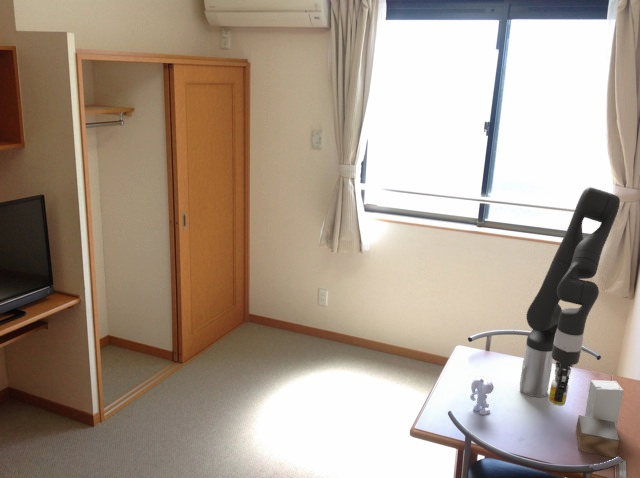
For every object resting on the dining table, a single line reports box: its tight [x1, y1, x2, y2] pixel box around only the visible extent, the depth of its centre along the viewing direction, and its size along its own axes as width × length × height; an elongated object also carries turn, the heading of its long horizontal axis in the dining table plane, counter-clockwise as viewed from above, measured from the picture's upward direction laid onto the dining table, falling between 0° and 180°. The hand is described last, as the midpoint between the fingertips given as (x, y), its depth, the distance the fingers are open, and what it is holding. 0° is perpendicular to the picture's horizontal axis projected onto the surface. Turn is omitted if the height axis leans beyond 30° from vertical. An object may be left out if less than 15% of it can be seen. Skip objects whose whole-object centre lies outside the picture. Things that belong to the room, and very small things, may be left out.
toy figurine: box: [470, 378, 494, 416], centre depth 193 cm, size 7×6×12 cm
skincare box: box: [584, 379, 624, 430], centre depth 187 cm, size 8×6×15 cm
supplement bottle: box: [548, 374, 569, 407], centre depth 175 cm, size 5×5×8 cm
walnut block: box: [575, 414, 620, 459], centre depth 178 cm, size 10×10×6 cm
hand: (557, 396), depth 176 cm, fingers closed on supplement bottle, 4 cm apart
